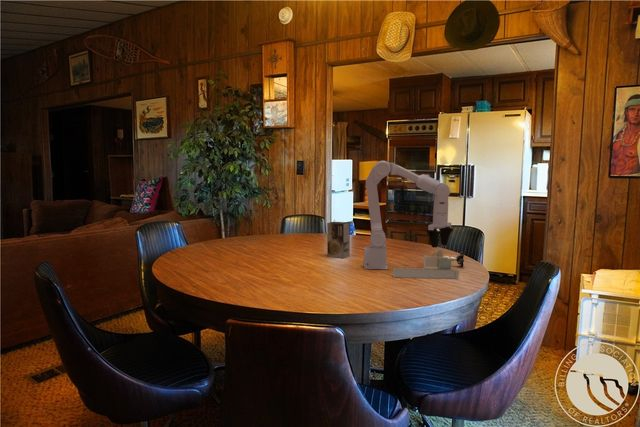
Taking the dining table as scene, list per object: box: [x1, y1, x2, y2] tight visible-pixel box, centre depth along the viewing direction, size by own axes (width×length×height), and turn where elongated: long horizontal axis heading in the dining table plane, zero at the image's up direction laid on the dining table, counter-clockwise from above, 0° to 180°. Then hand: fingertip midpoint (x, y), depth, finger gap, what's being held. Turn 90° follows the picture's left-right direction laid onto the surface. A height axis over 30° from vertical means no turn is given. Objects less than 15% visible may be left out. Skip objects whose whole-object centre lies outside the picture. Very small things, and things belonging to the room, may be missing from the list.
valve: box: [433, 249, 465, 268], centre depth 180 cm, size 7×7×12 cm
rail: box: [392, 258, 460, 280], centre depth 163 cm, size 24×8×6 cm, turn 86°
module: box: [422, 253, 438, 269], centre depth 171 cm, size 4×7×6 cm
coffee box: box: [326, 221, 351, 259], centre depth 200 cm, size 9×6×16 cm
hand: (439, 246), depth 173 cm, fingers open, 7 cm apart
